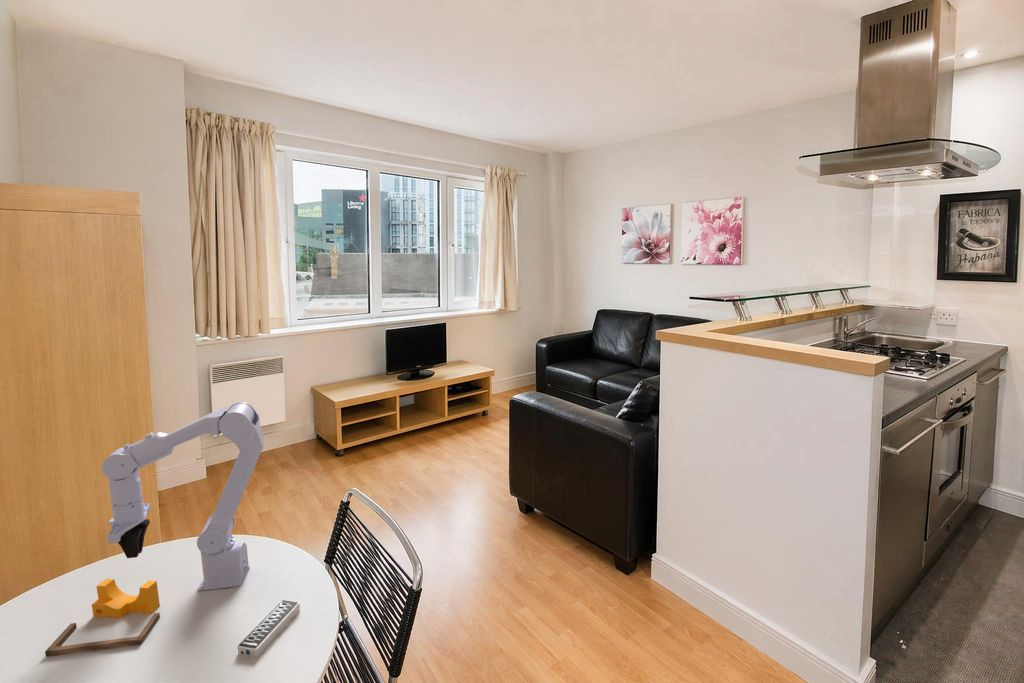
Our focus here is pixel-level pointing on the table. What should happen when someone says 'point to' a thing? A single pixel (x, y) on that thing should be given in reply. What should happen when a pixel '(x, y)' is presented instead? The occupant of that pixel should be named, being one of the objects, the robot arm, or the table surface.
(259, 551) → the table surface
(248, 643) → the multiport hub
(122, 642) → the bay
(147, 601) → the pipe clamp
